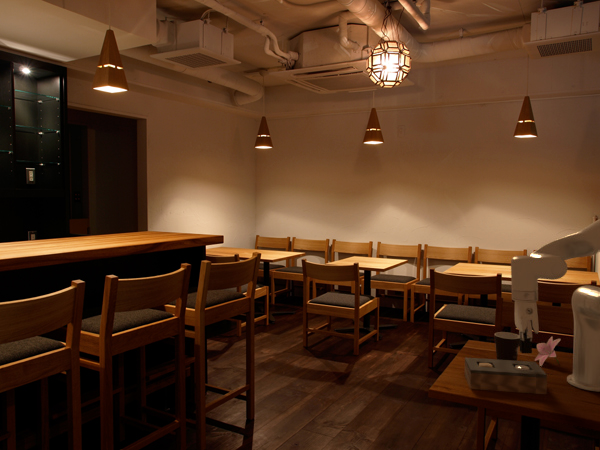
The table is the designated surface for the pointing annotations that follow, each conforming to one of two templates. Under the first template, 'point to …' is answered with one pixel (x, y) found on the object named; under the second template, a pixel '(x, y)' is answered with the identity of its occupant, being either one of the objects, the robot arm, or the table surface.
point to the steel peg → (521, 367)
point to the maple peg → (485, 365)
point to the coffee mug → (507, 345)
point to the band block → (505, 376)
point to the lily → (546, 350)
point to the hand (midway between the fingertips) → (525, 352)
